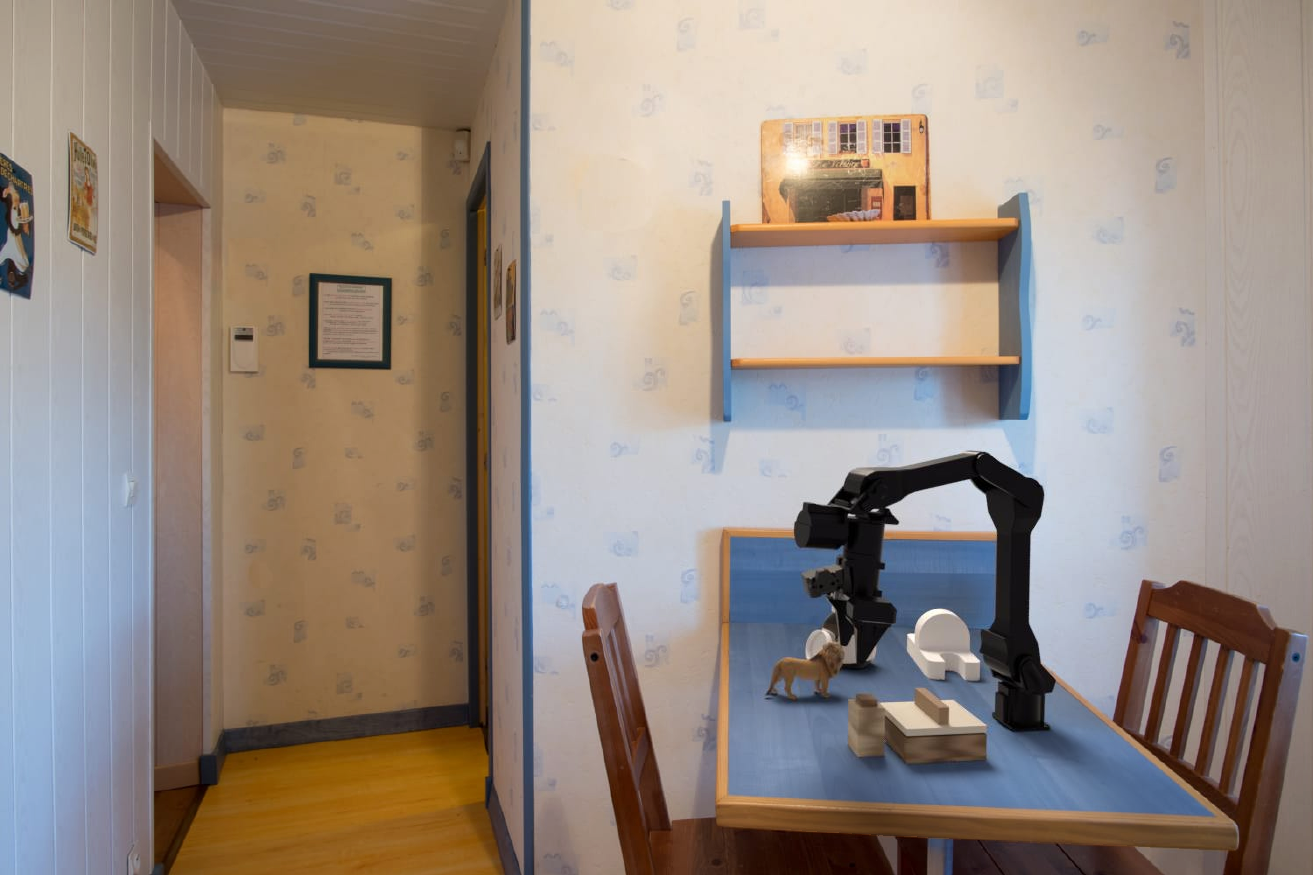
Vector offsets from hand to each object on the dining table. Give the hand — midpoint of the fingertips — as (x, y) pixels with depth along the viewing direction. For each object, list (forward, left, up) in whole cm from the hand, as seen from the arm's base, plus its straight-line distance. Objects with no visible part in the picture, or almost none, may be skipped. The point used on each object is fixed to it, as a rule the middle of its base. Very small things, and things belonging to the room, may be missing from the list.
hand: (851, 654), depth 120 cm
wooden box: (-11, +3, -13) cm, 18 cm away
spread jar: (-11, -35, -13) cm, 39 cm away
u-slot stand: (-31, -33, -14) cm, 47 cm away
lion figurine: (+1, -20, -13) cm, 24 cm away
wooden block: (-1, +3, -13) cm, 14 cm away
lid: (-11, +3, -9) cm, 15 cm away
